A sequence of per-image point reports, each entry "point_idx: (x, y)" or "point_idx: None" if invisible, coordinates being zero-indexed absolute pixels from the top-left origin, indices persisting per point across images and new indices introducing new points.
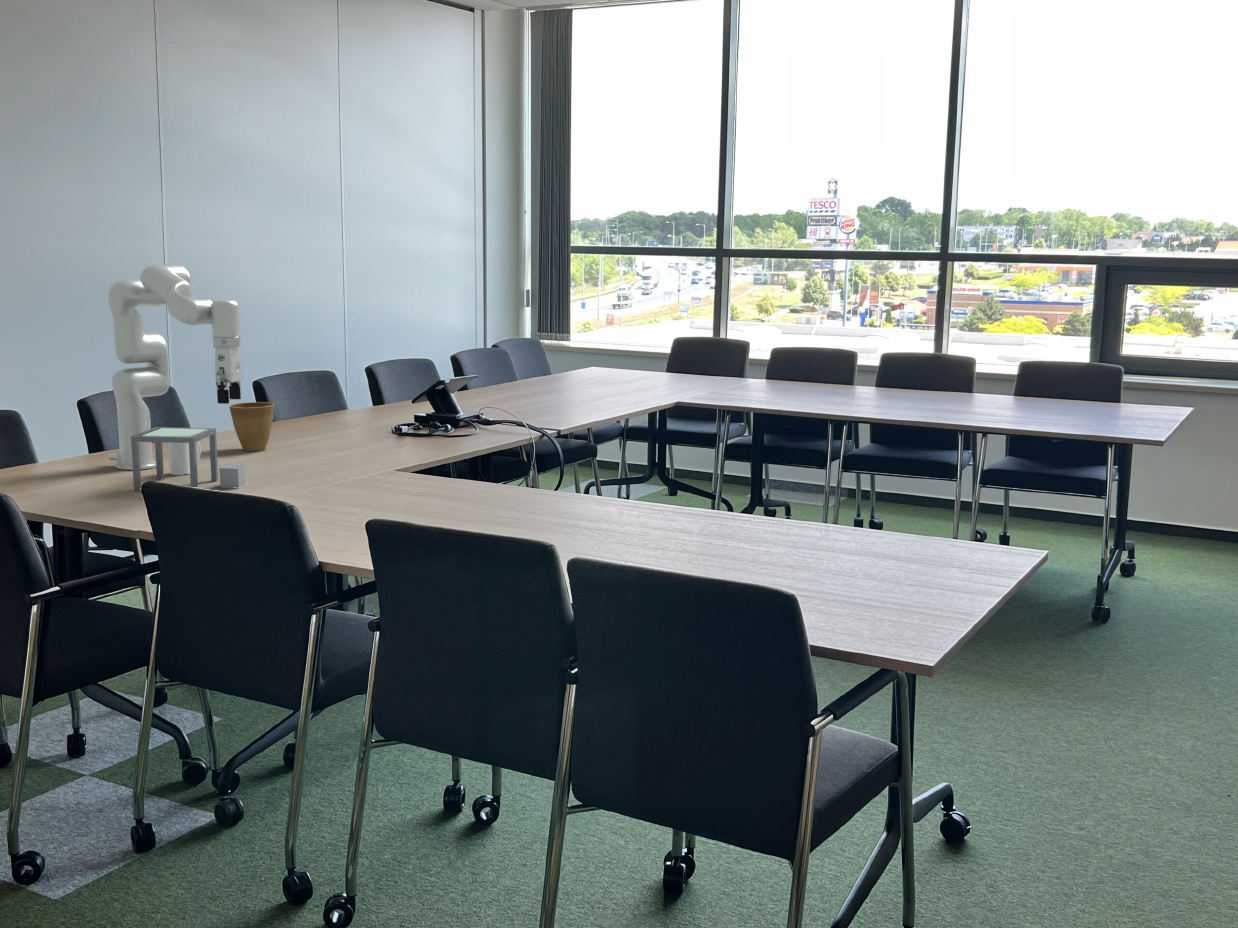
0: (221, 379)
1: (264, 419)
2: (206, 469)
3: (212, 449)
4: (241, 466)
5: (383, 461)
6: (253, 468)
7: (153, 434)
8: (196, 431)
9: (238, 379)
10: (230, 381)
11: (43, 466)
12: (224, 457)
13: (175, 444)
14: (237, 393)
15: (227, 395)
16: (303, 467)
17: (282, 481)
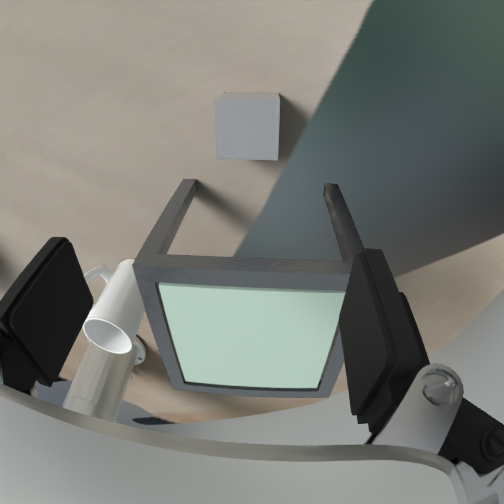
0: (501, 488)
1: None
2: (85, 244)
3: (173, 229)
4: (240, 100)
5: None
6: (44, 157)
7: (296, 376)
8: (219, 304)
9: (67, 437)
10: (444, 462)
11: (161, 409)
12: (3, 249)
13: (135, 326)
14: (50, 284)
15: (397, 310)
16: (12, 59)
17: (168, 12)
